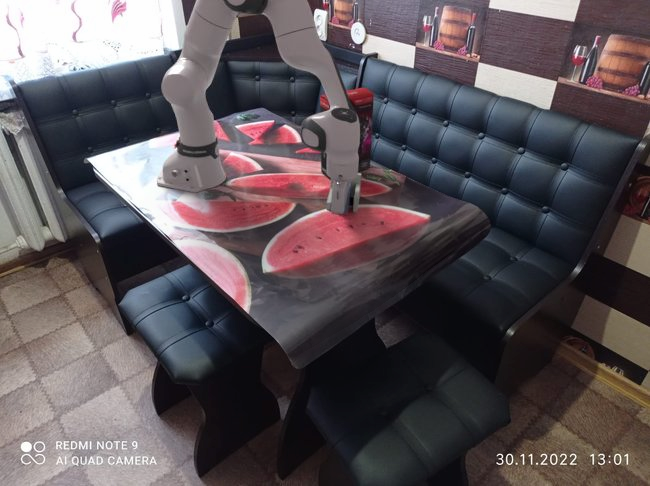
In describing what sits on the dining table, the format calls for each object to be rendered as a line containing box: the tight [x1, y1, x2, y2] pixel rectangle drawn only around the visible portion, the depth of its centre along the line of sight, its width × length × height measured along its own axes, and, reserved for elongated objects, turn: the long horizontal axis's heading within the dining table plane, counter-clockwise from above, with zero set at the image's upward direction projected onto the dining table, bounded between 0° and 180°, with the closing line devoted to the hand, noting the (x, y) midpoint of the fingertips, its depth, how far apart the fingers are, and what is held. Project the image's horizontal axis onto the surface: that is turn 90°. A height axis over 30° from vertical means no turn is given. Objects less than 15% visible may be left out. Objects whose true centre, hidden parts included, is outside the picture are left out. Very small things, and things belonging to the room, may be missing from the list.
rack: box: [326, 172, 362, 213], centre depth 149 cm, size 9×10×8 cm
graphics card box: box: [319, 86, 375, 180], centre depth 161 cm, size 17×7×27 cm, turn 120°
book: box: [343, 181, 352, 214], centre depth 149 cm, size 4×10×6 cm, turn 172°
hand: (340, 210), depth 142 cm, fingers closed
